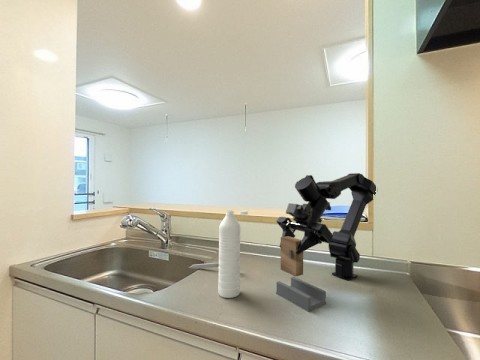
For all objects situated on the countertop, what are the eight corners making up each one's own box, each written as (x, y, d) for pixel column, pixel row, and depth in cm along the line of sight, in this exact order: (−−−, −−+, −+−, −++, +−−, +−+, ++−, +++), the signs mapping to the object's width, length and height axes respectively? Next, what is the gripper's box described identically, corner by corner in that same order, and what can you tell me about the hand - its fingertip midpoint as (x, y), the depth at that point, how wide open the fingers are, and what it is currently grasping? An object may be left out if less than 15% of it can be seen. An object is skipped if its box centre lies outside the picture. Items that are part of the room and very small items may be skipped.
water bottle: (215, 297, 68) (216, 211, 69) (221, 287, 74) (222, 209, 75) (245, 300, 67) (246, 212, 67) (248, 290, 73) (249, 209, 73)
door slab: (287, 267, 74) (287, 236, 74) (303, 274, 69) (303, 240, 69) (279, 270, 72) (279, 237, 72) (294, 277, 67) (294, 241, 67)
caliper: (239, 274, 87) (239, 257, 87) (238, 275, 86) (238, 257, 86) (190, 267, 93) (190, 251, 93) (188, 268, 92) (188, 252, 92)
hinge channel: (293, 287, 75) (293, 276, 75) (325, 303, 65) (325, 291, 65) (276, 293, 71) (276, 281, 71) (307, 311, 61) (308, 298, 61)
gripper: (280, 193, 81) (254, 228, 75) (326, 195, 65) (297, 240, 59) (296, 214, 85) (273, 249, 79) (343, 221, 69) (318, 266, 63)
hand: (288, 250), depth 70 cm, fingers closed on door slab, 6 cm apart
